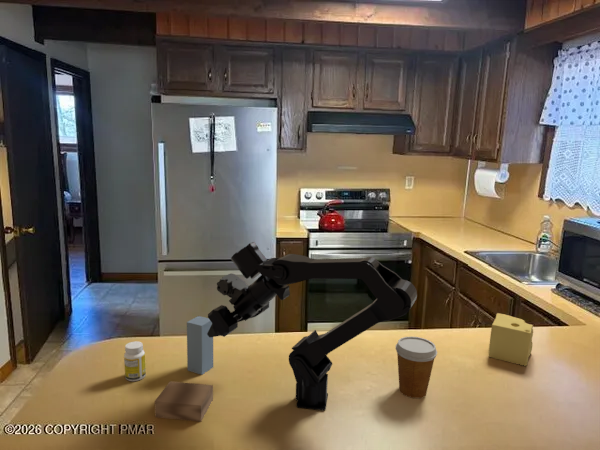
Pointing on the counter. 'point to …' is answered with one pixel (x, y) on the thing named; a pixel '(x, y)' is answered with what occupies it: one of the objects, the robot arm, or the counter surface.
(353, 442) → the counter surface
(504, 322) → the cheese
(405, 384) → the disposable coffee cup
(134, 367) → the supplement bottle
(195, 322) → the slate block
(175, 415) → the walnut block
